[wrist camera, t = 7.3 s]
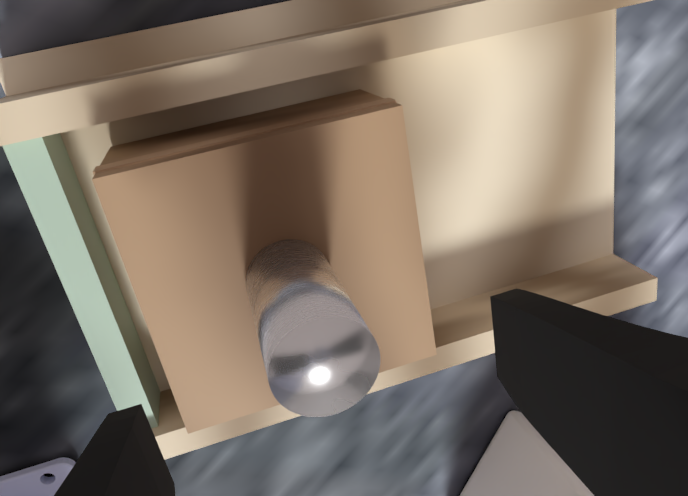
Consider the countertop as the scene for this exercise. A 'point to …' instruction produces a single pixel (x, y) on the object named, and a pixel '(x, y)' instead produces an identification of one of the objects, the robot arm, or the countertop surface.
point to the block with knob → (274, 255)
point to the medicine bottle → (522, 465)
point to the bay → (423, 144)
